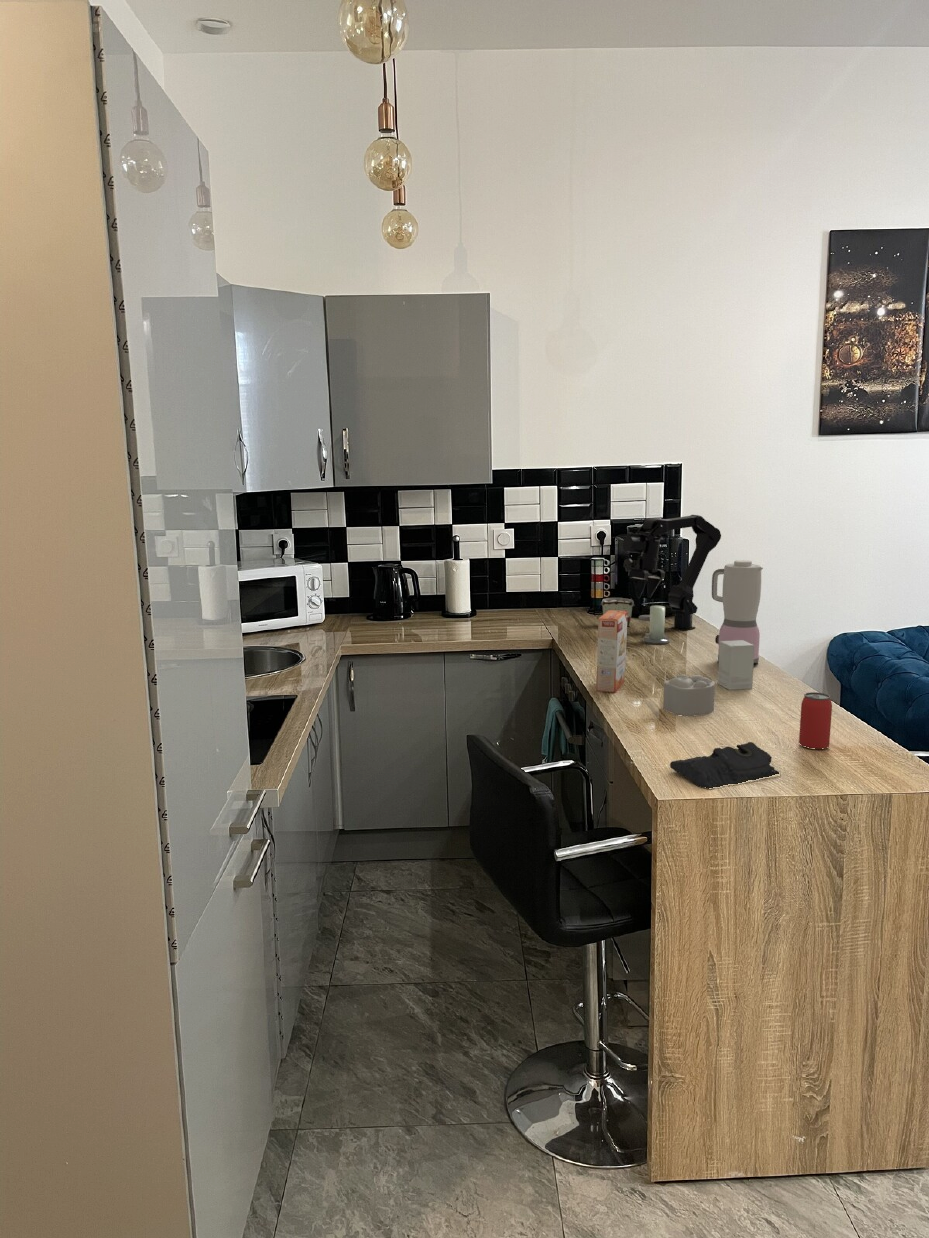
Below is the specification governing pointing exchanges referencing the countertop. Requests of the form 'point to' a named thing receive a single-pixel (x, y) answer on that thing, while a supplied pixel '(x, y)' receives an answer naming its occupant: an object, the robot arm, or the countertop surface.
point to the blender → (739, 603)
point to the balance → (646, 638)
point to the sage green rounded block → (657, 622)
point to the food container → (618, 606)
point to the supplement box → (736, 664)
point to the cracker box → (611, 651)
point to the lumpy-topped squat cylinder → (689, 695)
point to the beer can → (815, 720)
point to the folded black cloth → (726, 766)
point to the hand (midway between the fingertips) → (643, 597)
